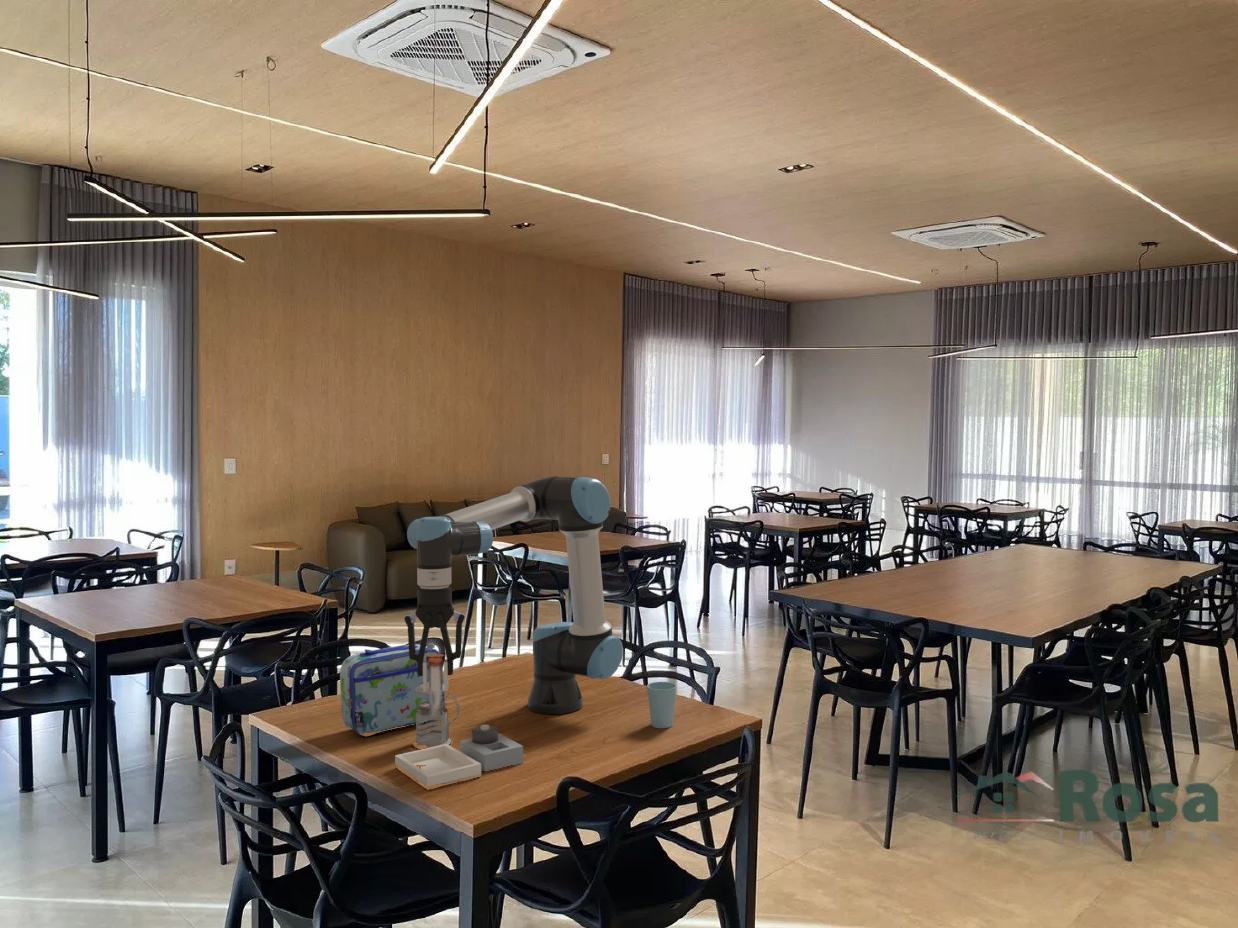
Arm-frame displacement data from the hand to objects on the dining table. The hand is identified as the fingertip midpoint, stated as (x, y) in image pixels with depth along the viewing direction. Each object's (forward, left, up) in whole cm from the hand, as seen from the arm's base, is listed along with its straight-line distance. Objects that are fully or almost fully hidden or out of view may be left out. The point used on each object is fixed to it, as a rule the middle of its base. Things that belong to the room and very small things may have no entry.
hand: (435, 689), depth 216 cm
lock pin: (0, 0, -6) cm, 6 cm away
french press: (-19, +9, -19) cm, 28 cm away
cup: (+4, +62, -19) cm, 65 cm away
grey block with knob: (0, +14, -19) cm, 23 cm away
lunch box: (-38, +6, -19) cm, 43 cm away
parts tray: (0, 0, -19) cm, 19 cm away
